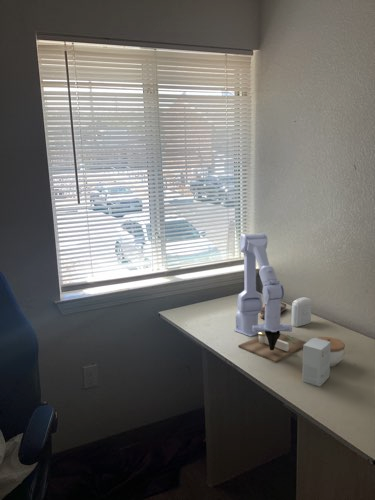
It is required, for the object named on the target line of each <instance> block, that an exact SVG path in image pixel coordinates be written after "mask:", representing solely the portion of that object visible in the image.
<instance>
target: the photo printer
mask: <svg viewBox="0 0 375 500" xmlns="http://www.w3.org/2000/svg"><path fill="white" fill-rule="evenodd" d="M312 305H313V304H312V300H311V298H309V297H306V296H304V297H303V296H302V297H300V298H299V297H298V298H297V299H295V300H294V301H292V303H291V313H290V314H291V315H290V318H291V319H290V325H291V326H292V327H295V328H297V327H301V326H305V325H308V324H311V322H312Z"/></svg>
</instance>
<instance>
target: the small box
mask: <svg viewBox="0 0 375 500" xmlns="http://www.w3.org/2000/svg"><path fill="white" fill-rule="evenodd" d="M318 338H319V337H311V338H310V339H309V340H308V341H307V343H305V344H304V345H303V348H302V349H303V350H302V373H301V376H302V378H301V381H302V382H303V383H307V384H310V385H313V386H315V387H316V386H317V387H319V388H320V387H321V386H322V385H323V384H324V383H326V381H327V380H328V379H329V378H330V366H329V365H330V346H331V342H329V341H326V340H322V339H318Z"/></svg>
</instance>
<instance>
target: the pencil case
mask: <svg viewBox="0 0 375 500" xmlns="http://www.w3.org/2000/svg"><path fill="white" fill-rule="evenodd" d="M286 308H287V304H286V303H284V302H282V301H281V310H280V314H281V313H283V312H284V311H285V310H286ZM259 317H260V318H261V319H265V306H263V308H262V310H261V311H260V313H259Z"/></svg>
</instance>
